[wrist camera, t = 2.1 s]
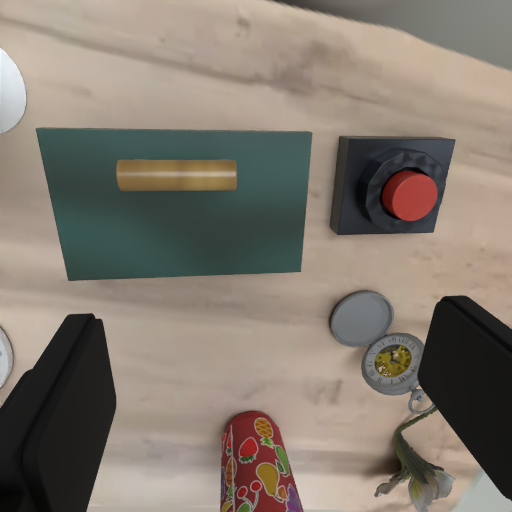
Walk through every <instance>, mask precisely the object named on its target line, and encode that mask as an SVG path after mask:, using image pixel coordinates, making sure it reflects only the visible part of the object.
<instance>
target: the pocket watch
mask: <svg viewBox="0 0 512 512" xmlns="http://www.w3.org/2000/svg"><path fill="white" fill-rule="evenodd" d="M393 318H394V311H393V307H392V305H391V303H390V301H389V300H388V299H387V298H385V297H384V296H383V295H381V294H379V293H377V292H372V291H362V292H358V293H355V294H352V295H350V296H348V297H347V298H345V299H344V300H343V301H342V302H341V303H340V304H339V305H338V306H337V307H336V309H335V310H334V313H333V315H332V317H331V329H332V332H333V334H334V336H335V338H336V339H337V340H338V341H339V342H340V343H342V344H344V345H346V346H349V347H363V346H367V345H369V346H370V347H369V348H368V349H367V351H366V352H365V354H364V357H363V359H362V364H361V370H362V376H363V378H364V379H365V381H366V382H367V384H368V385H370V386H371V387H372V388H373V389H374V390H376V391H378V392H380V393H382V394H385V395H392V396H393V395H402V394H405V393H407V392H410V391H412V394H411V395H410V396H411V399H410V401H409V404H408V408H409V410H410V411H411V412H412V413H415V414H423V413H427V412H428V411H430V410H432V409H433V407H434V406H435V405H434V404H432V406H430V407H429V408H428V409H426V410H424V411H416V410H414V409H413V408H412V401H413V400H418V401H419V402H422V401H423V399H424V398H423V397H422V396H423V395H424V393H425V392H424V390H422V389H416V387H418V386H419V382H418V378H417V373H418V369H419V365H420V361H421V358H422V354H423V350H424V346H425V345H424V344H423V342H422V341H421V340H419V339H418V338H417V337H415V336H413V335H410V334H408V333H393V334H389V335H386V333H387V332H388V330H389V329H390V327H391V325H392V323H393ZM396 350H397V351H396ZM403 350H405V351H404V352H402V351H403ZM392 351H396V352H395V353H393V352H392ZM390 352H391V353H390ZM397 352H398V353H399V352H400V353H399V356H398V357H395V358H397V359H395V358H394V355H395V354H396V353H397ZM405 353H407V354H405ZM382 361H385V363H383V362H382ZM381 363H383V364H381ZM383 365H384V366H385V367H386V368H385V369H383V368H382V370H381V372H380V373H379V367H381V366H383ZM384 366H383V367H384ZM385 371H386V373H387V371H388V372H389V373H387V374H388V375H387V376H386V377H385V375H383V374H386V373H384V372H385ZM390 373H391V375H389V374H390ZM382 375H383V376H382Z"/></svg>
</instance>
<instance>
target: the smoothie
mask: <svg viewBox="0 0 512 512" xmlns="http://www.w3.org/2000/svg"><path fill="white" fill-rule="evenodd" d="M220 512H303V508H302V505H301V501H300V498H299V495H298V491H297V488H296V485H295V481H294V478H293V474H292V471H291V468H290V464H289V461H288V458H287V454H286V451H285V448H284V444H283V441H282V437H281V434H280V431H279V428H278V426H277V425H276V424H275V423H274V422H273V421H272V420H271V419H270V418H269V416H267V415H265V414H263V413H259V412H246V413H243V414H240V415H238V416H236V417H235V418H233V419H232V420H231V421H230V422H229V424H228V426H227V428H226V430H225V432H224V434H223V436H222V457H221V505H220Z"/></svg>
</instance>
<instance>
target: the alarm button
mask: <svg viewBox="0 0 512 512" xmlns="http://www.w3.org/2000/svg"><path fill="white" fill-rule="evenodd" d="M436 199H437V187H436V184H435V182H434V181H433V180H432V179H431V178H430V177H428V176H426V175H423V174H420V173H417V172H414V171H402V172H399V173H397V174H396V175H394V176H393V177H391V178H390V179H389V181H388V182H387V183H386V185H385V187H384V190H383V194H382V200H383V204H384V207H385V208H386V209H387V210H388V211H389V212H390V213H392V214H393V215H395V216H397V217H398V218H400V219H402V220H405V221H414V220H418V219H420V218H422V217H424V216H425V215H426V214H428V213H429V212H430V210H431V209H432V208H433V206H434V204H435V202H436Z"/></svg>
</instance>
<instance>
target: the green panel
mask: <svg viewBox="0 0 512 512" xmlns="http://www.w3.org/2000/svg"><path fill="white" fill-rule="evenodd" d="M36 132H37V137H38V142H39V146H40V151H41V156H42V160H43V165H44V170H45V174H46V179H47V183H48V188H49V193H50V197H51V202H52V207H53V211H54V216H55V221H56V225H57V230H58V234H59V239H60V244H61V248H62V253H63V258H64V262H65V267H66V272H67V276H68V280H69V281H76V280H102V279H129V278H155V277H181V276H207V275H233V274H260V273H286V272H301V262H302V250H303V238H304V226H305V214H306V202H307V190H308V178H309V166H310V154H311V142H312V132H308V131H241V130H175V129H108V128H36Z"/></svg>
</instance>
